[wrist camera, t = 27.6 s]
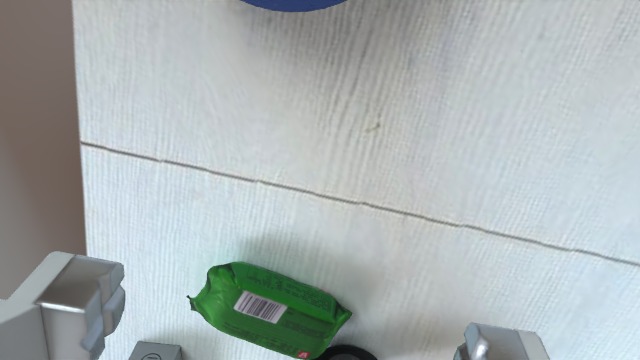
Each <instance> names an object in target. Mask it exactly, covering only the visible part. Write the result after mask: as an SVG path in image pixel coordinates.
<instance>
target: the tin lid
mask: <svg viewBox="0 0 640 360" xmlns="http://www.w3.org/2000/svg"><path fill="white" fill-rule="evenodd" d="M241 1H243V2H246V3H248V4H251V5H254V6H256V7H260V8H264V9H269V10H273V11H282V12H308V11H314V10H319V9H325V8H328V7H331V6H334V5H337V4H340V3H342V2H344V1H346V0H241Z"/></svg>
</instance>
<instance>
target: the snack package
mask: <svg viewBox="0 0 640 360" xmlns="http://www.w3.org/2000/svg"><path fill="white" fill-rule="evenodd" d="M187 298H189V299H190V304H191V310H193V311H197V312H199V313H200V314H201V315H202V316H203V317H204V319H205V320H206V321H207V322H208V323H210V324H211V325H212V326H213V327H215V328H216V329H218V330H220V331H222V332H224V333H226V334H229V335H231V336H234V337H237V338H240V339H243V340H246V341H248V342H251V343H254V344H256V345H259V346H262V347H264V348H267V349H270V350H273V351H276V352H279V353H281V354H284V355H288V356H291V357H293V358H297V359H303V360H311V359H315V358H317V357H319V356H320V355H321V354H322V353H323V352H324V351H325V350H326V349H327V347H328V345H329V344H330V342H331V341H332V339H333V337H334V336H335V334H336V333H337V332H338V330H339V329H340V328H341V326H342V325H343V324H344V323H345V322H346V321H347V320H348V319H349V318H350V317H351V315H352V313H351V312H350V311H348V310H347V309H345V308H344V307H342V306H341V305H340V304H339V303H338V302H337V301H336V300H335V299H334V298H333V297H332V296H331V295H330V294H328V293H326V292H324V291H321V290H319V289H316V288H313V287H310V286H308V285H305V284H302V283H299V282H296V281H294V280H292V279H290V278H287V277H285V276H282V275H280V274H277V273H274V272H272V271H269V270H266V269H263V268H260V267H257V266H254V265H251V264H248V263H243V262H232V263H228V264H224V265H218V266H213V267H212V268H210V269H209V271H208V272H207V282H206V285H205V287H204V288H203V289H202V290H201V292H200V293H199V294H198V296H197V297H195V298H190V297H189V295H188V296H187Z"/></svg>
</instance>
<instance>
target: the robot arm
mask: <svg viewBox="0 0 640 360" xmlns="http://www.w3.org/2000/svg"><path fill="white" fill-rule="evenodd" d="M123 278H124V265H122V264H121V263H118V262H113V261H108V260H103V259H98V258H93V257H87V256H82V255H74V254H69V253H64V252H59V251H55V252H52V253H50V254H49V255H48V256H47V257H46V258H45V259H44V260H43V261H42V262H41V263H40V264H39V266H38V267H37V268H36V269H35V270H34V271H33V272H32V273H31V274H30V275H29V277H27V279H26V280H25V281H24V282H23V283H22V284H21V285H20V286H19V287H18V288H17V290H16V291H15V292H14V293H13V294H12V295H11V296H10V297H9V298H8V299H7V300H3V299H0V360H98V359H99V357H100V355H101V354H102V352H103V350H104V348H105V340H104V337H106V336H108V335H109V334H111V333H113V332H114V331H115V329H116V328H117V326H118V324H119V322H120V320H121V317H122V314H123V311H124V306H125V290H124V289H123V288H122V287H121V285H120V283H121V281H122V280H123ZM464 336H465V340H466V342H465V343H464V344H462V345H460V346H459V347H458V348H457V350H456V353H455V355H454V359H453V360H550V358H549V356H548V354H547V352H546V350H545V348H544V345H543V343H542V341H541V339H540V337H539V336H538V335H537V334H536V333H535V332H530V331H524V330H517V329H509V328H503V327H497V326H491V325H485V324H478V323H470V324H469V325H468V326H467V328H466V331H465V333H464Z"/></svg>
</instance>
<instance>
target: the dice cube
mask: <svg viewBox="0 0 640 360" xmlns="http://www.w3.org/2000/svg"><path fill="white" fill-rule="evenodd" d="M129 360H182V358H181V349H180V346H179V345H169V344H158V343H148V342H137V344H136V346H135V348H134V350H133V352H132V354H131V356H130V358H129Z"/></svg>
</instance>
